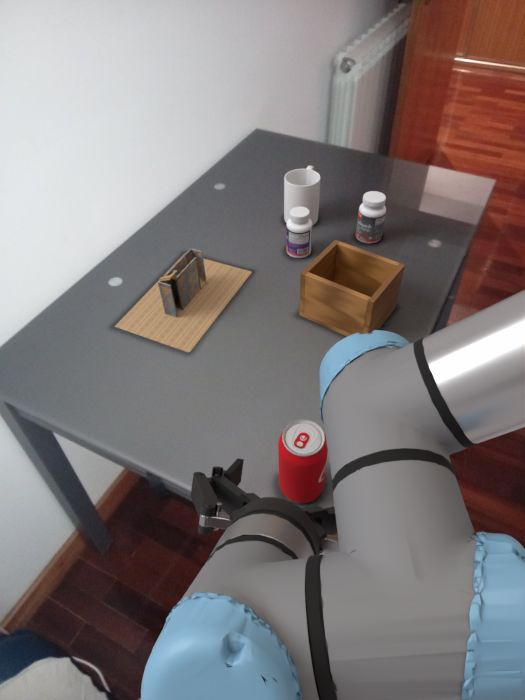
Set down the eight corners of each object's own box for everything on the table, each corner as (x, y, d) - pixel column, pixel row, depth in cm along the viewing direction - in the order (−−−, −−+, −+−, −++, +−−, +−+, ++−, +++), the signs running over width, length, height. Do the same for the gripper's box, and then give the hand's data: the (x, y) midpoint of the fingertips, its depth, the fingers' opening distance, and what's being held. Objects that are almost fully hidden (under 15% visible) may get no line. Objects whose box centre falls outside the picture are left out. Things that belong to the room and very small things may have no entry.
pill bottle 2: (350, 236, 109) (354, 195, 102) (367, 227, 112) (373, 186, 104) (369, 247, 106) (375, 206, 99) (386, 237, 108) (394, 196, 101)
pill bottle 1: (292, 241, 108) (292, 202, 101) (314, 247, 107) (317, 207, 100) (282, 255, 105) (282, 215, 98) (305, 261, 103) (307, 221, 96)
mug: (312, 231, 111) (315, 188, 103) (279, 225, 113) (279, 183, 105) (326, 204, 119) (329, 162, 111) (294, 199, 121) (295, 158, 113)
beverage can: (330, 477, 69) (337, 428, 60) (311, 513, 65) (315, 467, 57) (291, 457, 71) (293, 408, 63) (270, 492, 68) (268, 445, 59)
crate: (395, 307, 93) (405, 264, 85) (366, 345, 86) (373, 302, 79) (331, 281, 99) (335, 239, 91) (298, 315, 92) (300, 272, 85)
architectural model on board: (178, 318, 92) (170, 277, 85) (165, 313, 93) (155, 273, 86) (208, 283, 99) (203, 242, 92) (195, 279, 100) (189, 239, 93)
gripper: (105, 574, 39) (190, 491, 60) (431, 650, 35) (399, 532, 55) (116, 481, 38) (197, 431, 59) (447, 547, 34) (409, 467, 55)
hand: (295, 480), depth 57 cm, fingers open, 13 cm apart
